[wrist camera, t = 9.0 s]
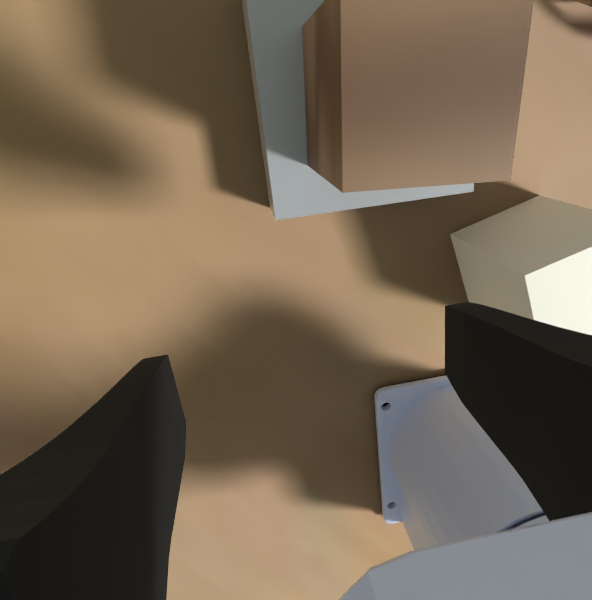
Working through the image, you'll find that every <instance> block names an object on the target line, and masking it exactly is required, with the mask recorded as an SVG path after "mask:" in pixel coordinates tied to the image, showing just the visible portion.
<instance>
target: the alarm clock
mask: <svg viewBox="0 0 592 600" xmlns="http://www.w3.org/2000/svg"><path fill="white" fill-rule="evenodd" d="M576 1H578V2H580V3H583V4H586V5H589V6H590V7H592V0H576Z"/></svg>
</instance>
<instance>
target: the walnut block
mask: <svg viewBox="0 0 592 600" xmlns="http://www.w3.org/2000/svg"><path fill="white" fill-rule="evenodd" d="M533 1H534V0H324V1H323V3H322V4H321V5H320V6H319V7H318V8H317V10H316V11H315V12H314V13H313V14H312V15H311V16H310V18H309V19H308V20H307V21H306V22H305V23H304V24H303V26H302V38H303V64H304V90H305V115H306V141H307V165H308V166H309V167H310V168H312V169H313V170H314V171H315V172H317V173H318V174H319V175H320V176H322V177H323V178H324V179H326V180H327V181H328V182H329V183H331V184H332V185H333V186H334V187H336V188H337V189H338V190H340V191H341V192H342V193H347V192H360V191H374V190H388V189H401V188H415V187H428V186H442V185H455V184H469V183H482V182H496V181H509V180H511V174H512V166H513V158H514V150H515V142H516V134H517V127H518V119H519V111H520V103H521V95H522V87H523V79H524V72H525V64H526V56H527V48H528V40H529V32H530V25H531V17H532V9H533Z"/></svg>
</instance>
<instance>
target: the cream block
mask: <svg viewBox="0 0 592 600" xmlns="http://www.w3.org/2000/svg"><path fill="white" fill-rule="evenodd" d="M450 236H451V239H452V243H453V247H454V250H455V254H456V258H457V261H458V265H459V269H460V272H461V276H462V280H463V283H464V287H465V291H466V294H467V298H468V302H471V303H477V304H481V305H485V306H489V307H492V308H496V309H499V310H503V311H506V312H509V313H513V314H516V315H519V316H522V317H526V318H529V319H532V320H536V321H539V322H543V323H546V324H550V325H553V326H557V327H561V328H564V329H568V330H572V331H576V332H580V333H584V334H589V335H592V210H591V209H587V208H584V207H580V206H576V205H573V204H569V203H566V202H562V201H558V200H555V199H551V198H547V197H544V196H540V195H539V196H536V197H534V198H532V199H529V200H527V201H525V202H523V203H520V204H518V205H516V206H513V207H511V208H509V209H506V210H504V211H502V212H500V213H497V214H495V215H493V216H490V217H488V218H486V219H483V220H481V221H479V222H477V223H474V224H472V225H470V226H467V227H465V228H463V229H461V230H458V231H456V232H454V233H451V234H450Z"/></svg>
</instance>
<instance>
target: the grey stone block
mask: <svg viewBox="0 0 592 600" xmlns="http://www.w3.org/2000/svg"><path fill="white" fill-rule="evenodd" d="M323 1H324V0H242V6H243V13H244V21H245V28H246V35H247V43H248V50H249V57H250V65H251V72H252V79H253V87H254V94H255V102H256V109H257V116H258V124H259V131H260V138H261V146H262V153H263V160H264V168H265V175H266V182H267V190H268V197H269V204H270V209H271V211H272V213H273V216H274V218H275V220H281V219H288V218H295V217H302V216H309V215H316V214H323V213H329V212H336V211H343V210H350V209H357V208H364V207H371V206H378V205H385V204H392V203H399V202H406V201H412V200H419V199H426V198H433V197H440V196H447V195H454V194H461V193H468V192H474V183H469V184H455V185H442V186H428V187H415V188H401V189H388V190H374V191H360V192H347V193H342V192H341V191H340V190H338V189H337V188H336V187H334V186H333V185H332V184H331V183H329V182H328V181H327V180H326V179H324V178H323V177H322V176H320V175H319V174H318V173H317V172H315V171H314V170H313V169H312V168H310V167H309V166H308V165H307V141H306V115H305V90H304V64H303V38H302V26H303V24H304V23H305V22H306V21H307V20H308V19H309V18H310V16H311V15H312V14H313V13H314V12H315V11H316V10H317V8H318V7H319V6H320V5H321V4H322V3H323Z"/></svg>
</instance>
